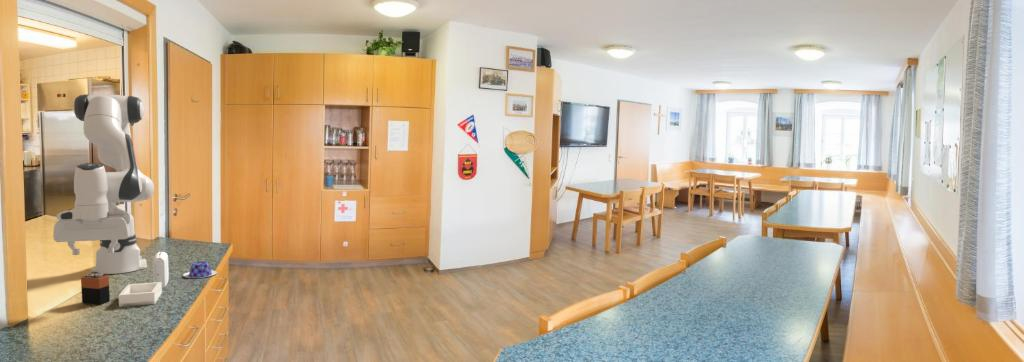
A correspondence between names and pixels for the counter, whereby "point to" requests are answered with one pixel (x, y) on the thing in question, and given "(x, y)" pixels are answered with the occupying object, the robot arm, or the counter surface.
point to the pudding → (200, 270)
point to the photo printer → (160, 268)
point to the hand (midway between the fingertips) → (93, 253)
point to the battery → (95, 289)
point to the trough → (140, 294)
